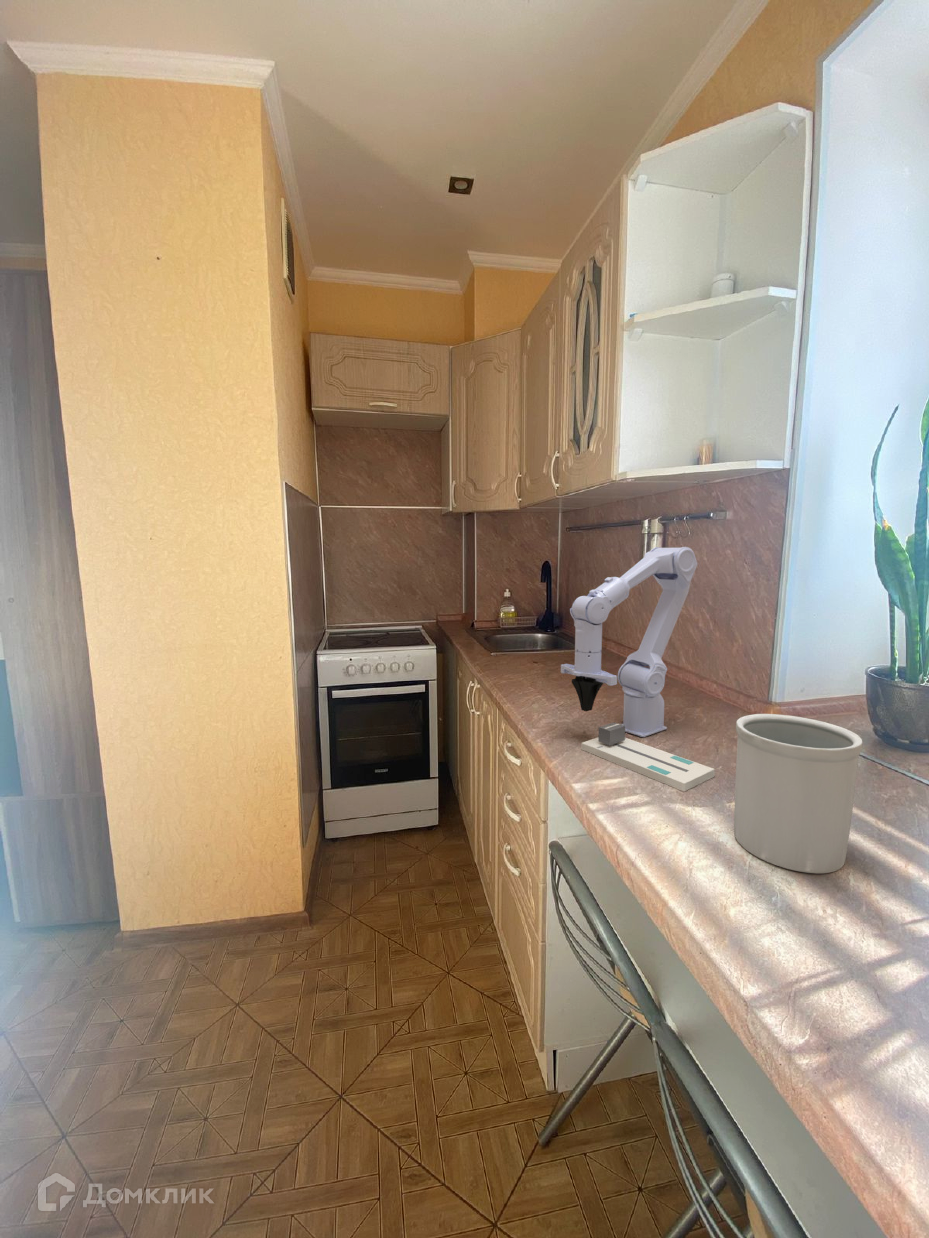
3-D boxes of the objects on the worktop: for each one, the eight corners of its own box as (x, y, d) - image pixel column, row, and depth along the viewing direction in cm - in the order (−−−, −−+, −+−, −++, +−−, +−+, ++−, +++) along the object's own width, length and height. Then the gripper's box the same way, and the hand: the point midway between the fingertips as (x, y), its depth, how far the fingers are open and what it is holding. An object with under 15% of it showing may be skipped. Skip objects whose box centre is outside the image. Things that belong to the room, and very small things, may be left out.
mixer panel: (611, 739, 115) (611, 732, 115) (714, 776, 96) (714, 768, 96) (581, 749, 110) (581, 742, 109) (684, 791, 90) (684, 783, 90)
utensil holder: (740, 808, 84) (747, 706, 82) (853, 839, 75) (864, 725, 73) (718, 849, 73) (725, 732, 71) (847, 892, 64) (860, 759, 61)
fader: (613, 736, 112) (613, 721, 111) (624, 740, 109) (625, 725, 109) (598, 741, 109) (598, 726, 108) (609, 745, 106) (610, 730, 106)
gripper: (551, 647, 116) (550, 705, 118) (602, 658, 104) (600, 722, 106) (573, 644, 120) (572, 699, 122) (624, 654, 108) (622, 715, 110)
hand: (586, 709), depth 114 cm, fingers closed
